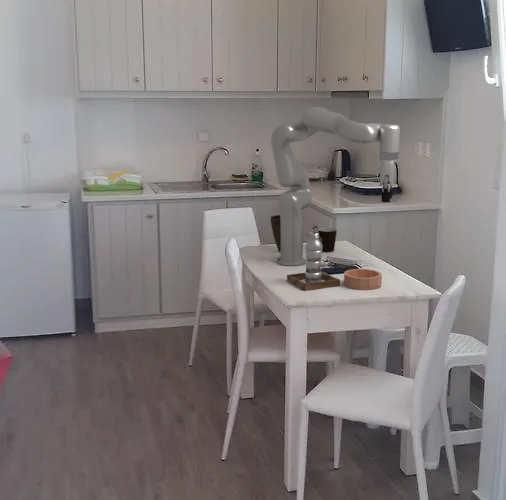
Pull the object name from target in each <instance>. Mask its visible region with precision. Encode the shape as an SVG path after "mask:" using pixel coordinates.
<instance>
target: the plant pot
mask: <svg viewBox="0 0 506 500" xmlns="http://www.w3.org/2000/svg"><path fill="white" fill-rule="evenodd" d="M302 219H303V220H304V217H303V216H302ZM270 223H271V226H270V227H271V231H272V234H273V238H274V243H275V245H276V248H277V250H278V253H279V252H280V251H281V219H280V214H277V215H271V216H270Z"/></svg>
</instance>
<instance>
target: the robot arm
mask: <svg viewBox="0 0 506 500" xmlns="http://www.w3.org/2000/svg"><path fill="white" fill-rule="evenodd" d="M318 132H322V133H327V134H330V135H334V136H336V137H340V138H342V139H345V140H346V141H347V140H348V141H350V142H354V143H357V144H358V143H359V144H365V145H366V144H371V143H377V142H378V143H379V145H378V146H379V147H378V161H379V162H380V172H379V184H378V185H379V186H380V187H382V189H381V190H382V191H381V202H382V203H390V202H391V199H393V186H394V181H395V175H396V174H395V172H396V162H399V160H400V159H399V158H400V157H399V155H400V154H399V153H400V136H401V133H400V132H401V129H400V125H398V124H394V123H393V124H389V123H385V124H383V123H377V122H375V123H374V122H372V123H371V122H370V123H361V122H357V121H354V120H352V119H351V120H350V119H348V118H346V117H345V116H344V115H343V114H342V113H337V112H334V111H329V110H328V109H327V108H326V107H322V106H315V107H313V106H312V107H308V108H307V109H305V110H304V111H303V113H302V116H301V119H299V120H295V121H294V120H293V121H286V122H283V123H281V124H279V125H278V126H276V127H275V128H274V130H273V131H272V133H271V138H270V145H271V149H272V153H273V158H274V166H275V172H276V178H277V181H278V184H279V185H280V186H281V187H284V188H289V189H290V190H289V189H288V190H286V191H284V192H283V193H282V194H281V195H280V197H279V200H278V209H279V215H280V219H281V251H280V252H279V251H278V254H279V255H280V257H278V258H277V259H276V263H277V264H279V265H281V266H287V267H289V266H290V267H292V266H293V267H294V266H302V265H305V264H307V260H306V258H304V257H303V249H304V248H303V247H304V244H303V243H304V235H303V233H304V223H303V222H304V221H303V220H304V218H303V219H302V217H303V215H302V210H304V209H307V208H308V207H309V206H310V205H311V203H312V191H311V184H310V179H309V174H308V171H307V169H306V167H305V166H304V165H303V164H302V163H300V162H296V160H295V153H294V151H293V148H292V147H291V143H296V142H297V143H298V142H302V141H305V140H306V139H308V138H310V137H311V136H313V135H314V134H316V133H318Z"/></svg>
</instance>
